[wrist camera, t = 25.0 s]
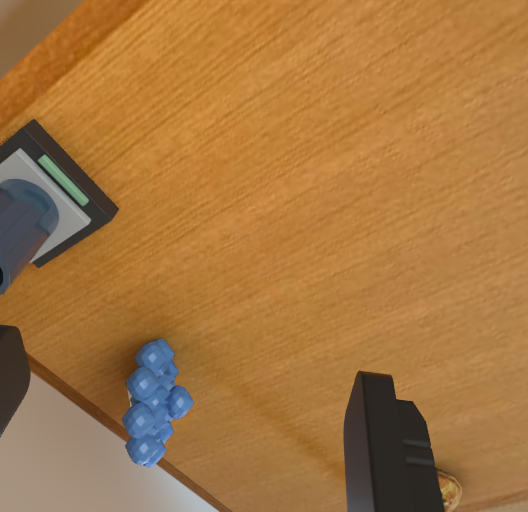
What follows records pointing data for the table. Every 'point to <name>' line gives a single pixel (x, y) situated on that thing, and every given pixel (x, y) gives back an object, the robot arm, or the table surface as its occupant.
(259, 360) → the table surface
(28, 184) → the cup
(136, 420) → the grapes
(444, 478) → the bread roll
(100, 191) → the scale
